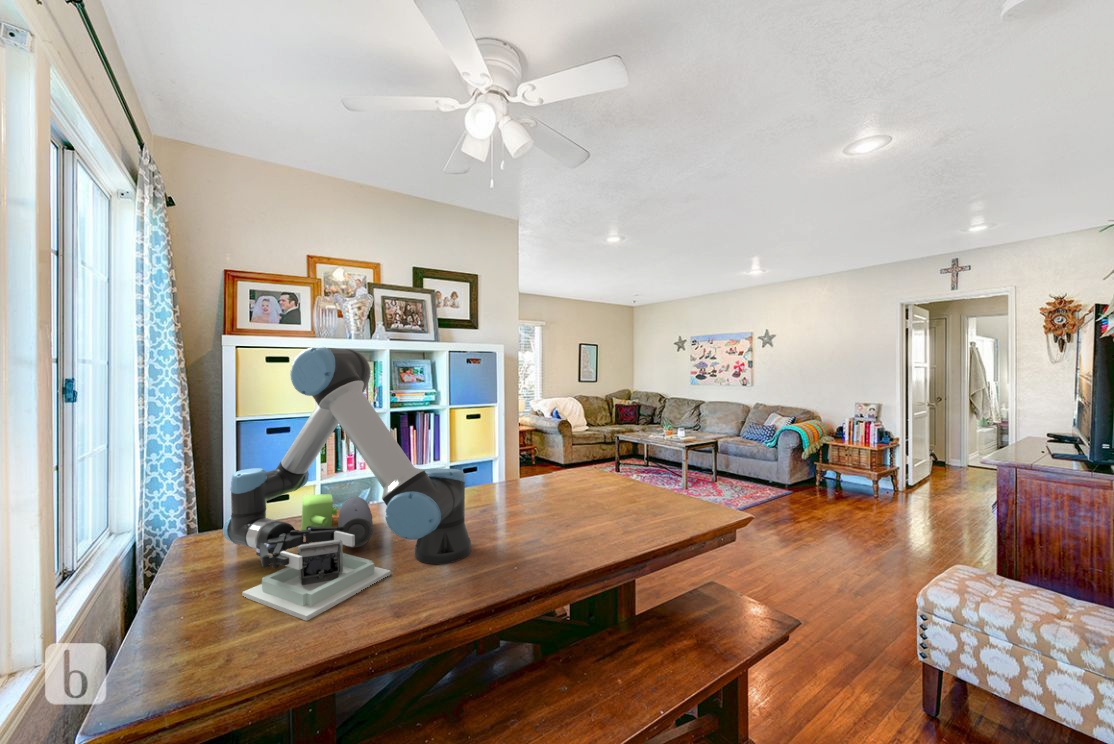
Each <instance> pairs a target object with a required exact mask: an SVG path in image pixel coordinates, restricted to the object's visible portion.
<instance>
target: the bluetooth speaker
mask: <svg viewBox="0 0 1114 744" xmlns="http://www.w3.org/2000/svg"><path fill="white" fill-rule="evenodd" d="M337 519H338V520H337V521H338V523H337V525H338V526H339V527H344V533H348V534H353V535H355V546H353V547H352V548H358V547H361V546H363V545H366V544H367V543H369V542H368V541H370V539H371V537H372V534H373V530H374V528H373V527H374V526H373V525H374V524H373V514H372V511H371V509H370V506H369V503H368V502H367V501H366V500H365V499H364V497H363V498H362V497H361V496H352V497H350V498H348V499H346V500H345V501H343V502H342V505H341V506H340V508H339V513H338V518H337ZM347 547H348V548H351V547H350V546H347Z"/></svg>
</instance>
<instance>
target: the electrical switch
mask: <svg viewBox="0 0 1114 744" xmlns="http://www.w3.org/2000/svg"><path fill="white" fill-rule="evenodd" d="M343 553H344V552H343V545H342V541H341V540H340V539H339V540H332V541H325V542H314V543H309V544H303V545H300V546H297V555H299V556H302V569H300V570H299V578H300V580H301V584H302V585H308V584H313V583H319V582H325V581H331V580H334V579H336V578H338V577H339V574H341V573H342V572H343ZM325 576H326V577H325ZM319 577H323V578H321V579H320V578H319ZM316 578H317V580H316ZM326 579H327V580H326Z"/></svg>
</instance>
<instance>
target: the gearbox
mask: <svg viewBox="0 0 1114 744" xmlns="http://www.w3.org/2000/svg"><path fill="white" fill-rule="evenodd" d="M332 496H333V495H332V494H331V493H327V494H325V493H324V494H321V493H320V494H311V495H310V494H308V495H307V494H306V495H303V496H302V506H301V507H302V508H301V509H302V511H301V527H300V528H301V529H300V531H301V530H306V527H308V526H313V527H333V526H332V525H333V516H337V514H338V508H337V506H335V507H333V497H332Z"/></svg>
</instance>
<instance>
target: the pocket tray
mask: <svg viewBox="0 0 1114 744" xmlns="http://www.w3.org/2000/svg"><path fill="white" fill-rule="evenodd" d="M342 553H343V572H342V573H341V574H339V577H338V578H336V579H334V580H331V581H325V582H319V583H313V584H308V585H302V584H301V580H300V578H299V570H297V569H294V568H291V567H288V566H286V567H285V568H282V569H279V570H277V571H275V572H272V573H271V574H270V573H269V574H267V575H266V576H263V577H261V583H260V584H258V585H256V586H254V587H251V588H248V589H246V590H244V591H241V592H242V595H241V596H244V597H243V598H245V597H246V598H245V599H248V600H251V601H253V602H257V603H259V604H261V605H264V606H266V607H269V608H271V609H275V610H277V611H280V612H282V613H285V614H287V615H290V616H293V617H295V618H298V619H301V620H303V621H306V622H307V621H309V620H311V619H313V618H314V617H317V616H319V615H320V614H322V613H324V612H326V611H328V610H329V609H331V608H333V607H335V606H336V605H338V604H340V603H342V602H344V601H346V600H347V599H349V598H351V597H353V596H354V595H356V593H357V594H358V593H360V592H362V591H364V590H366V589H367V587H368V588H370V585H371V586H373V585H375V584H377V583H378V582H380V581H382V580H384V579H385V577H386V578H387V576H388V577H389V576H391V574H392V571H391V570H389V569H385V568H382V567H378V566H375V562H373V560H370V559H367V558H364V557H359V556H356V555H352V554H349V553H345V552H342ZM325 577H326V576H325ZM319 578H320V579H321V578H323V577H319ZM383 578H384V579H383ZM381 579H382V580H381ZM316 580H317V578H316ZM326 580H327V579H326ZM379 580H380V581H379ZM377 581H378V582H377ZM376 582H377V583H376ZM374 583H375V584H374ZM372 584H373V585H372ZM365 588H366V589H365ZM363 589H364V590H363ZM361 590H362V591H361Z"/></svg>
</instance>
